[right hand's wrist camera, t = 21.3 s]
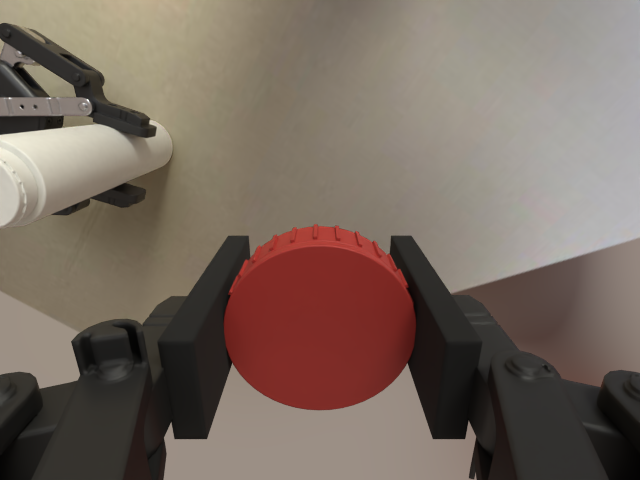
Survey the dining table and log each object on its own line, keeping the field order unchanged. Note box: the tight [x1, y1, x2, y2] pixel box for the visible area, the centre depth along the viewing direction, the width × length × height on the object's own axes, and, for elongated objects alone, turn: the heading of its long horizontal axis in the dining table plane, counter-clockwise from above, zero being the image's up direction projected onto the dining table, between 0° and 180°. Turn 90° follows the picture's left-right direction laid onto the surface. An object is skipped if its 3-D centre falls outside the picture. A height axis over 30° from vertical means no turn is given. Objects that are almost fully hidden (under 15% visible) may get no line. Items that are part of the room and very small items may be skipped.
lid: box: [223, 224, 416, 410], centre depth 11 cm, size 6×6×2 cm
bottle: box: [0, 120, 173, 229], centre depth 26 cm, size 4×4×19 cm
